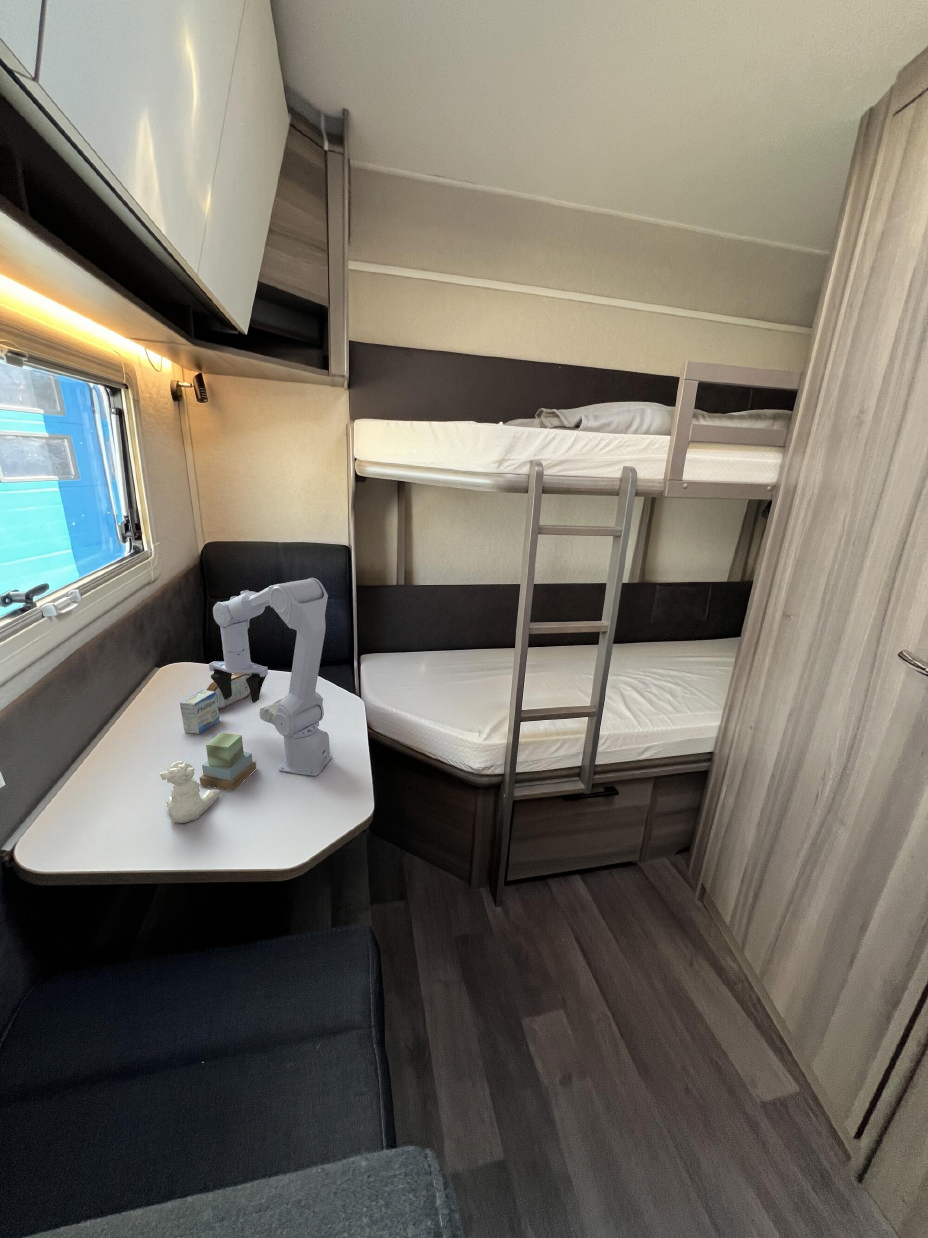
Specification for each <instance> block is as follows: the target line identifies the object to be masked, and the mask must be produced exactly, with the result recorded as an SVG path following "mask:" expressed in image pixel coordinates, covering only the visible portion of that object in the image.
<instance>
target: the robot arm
mask: <svg viewBox="0 0 928 1238" xmlns="http://www.w3.org/2000/svg"><path fill="white" fill-rule="evenodd" d="M328 597H329V594H328V593H327V591H326V589H325V587H324V586H323V584H322V582H321V581H320V580H319V579H317V578H314V577H309V578H306V579H302V580H301V579H300V580H295V581H289V582H288V581H287V582H284V583H283V582H282V583H277V584H273V585H269V586H268V587H266V588H264V589H263V590H261V591H259V592H256V591H250V590H249V589H246V590H242V591H240V595H238V596H237V595H235V596H234V595H233V596H231V597H230V598H229V600H226V601H222V602H221V601H217V602H216V603H214V606H213V608H212V613H213V614H212V615H213V619H214V621H215V623H216V624H217V625H218V626H219V627H220V635H221V642H222V643H221V644H222V651H223V660H224V661H218V660H217V661H216V660H215V661H212V662H210V663H208V668H209V672H213V673H212V674H210V679H211V680H212V682H215V683H216V684H217V686H218V687H219V689H220V691H221V693H222V695H223V697H224V699H226V700H227V699H228V698H230V697H231V696H232V687H231V677H232V674H234V673H243V674H251V676H250V677H248V678H247V679H246V682H247V684H248V686H249V689H250V695H249V696H250V700H251V703H252V704H253V703H254V704H255V703H257V702H258V701H259V700H260V697H261V692H262V687H263V685H264V682H265V680H266V677H267V675H268V674H269V670H268V666H263V665H261V664H257V663H254V662H252V660H251V653H250V644H249V643H250V642H249V635H248V633H249V632H248V629H249V628H250V620H251V619H253V618H255V617H257V616H260V615H261V614H263V613H264V611H265V609H266V607H269V606H270V608H272V609H273V610H274V611H275V612H276V613H277V615H278V616H279V617H280V619H281V620H282V621H283V622H284V623H285V624H286V626H287V627H288V628H289V629H292V630H295V631H296V637H295V645H294V652H293V659H292V667H291V668H292V669H291V673H290V674H291V675H290V680H289V681H290V683H289V688H288V693H287V694H286V695H285V696H284V697H283V698H282V699H283V700H282V701H281V702H280V703H279V705H278V710H277V711H276V712H275V714H274V724H273V726H274V728H275V730H276V731H277V732H278V733H279V734H280V735H282V736H283V741H284V742H283V743H284V752H285V753H284V755H285V756H284V757H285V761H284V762H283V763H282V764H281V765H280V766H279V767H278V771H279V772H285V773H290V774H291V773H292V774H298V775H299V774H300V775H306V776H311V777H313V776H314V777H316V776H318V775H319V773H321V771H322V770H323V769H324V768H325V766H326V765H327V764H328V762H330V761H331V759H332V755H331V750H330V749H331V748H330V736H329V733H328V732H327V731H325V730H322V729H319V728H318V727H320V721H322V720H323V718H324V717H325V716H324V714H325V713H324V711H325V710H324V706H323V704H324V698H323V697H322V695H321V694H320V693H318V692H317V691H316V688H317V684H318V677H319V672H320V671H319V670H320V664H321V659H322V653H323V646H324V641H325V634H326V628H327V627H326V611H327V610H326V609H327V605H328V604H327V603H328Z"/></svg>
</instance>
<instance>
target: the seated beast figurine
mask: <svg viewBox="0 0 928 1238" xmlns="http://www.w3.org/2000/svg"><path fill="white" fill-rule="evenodd" d="M195 770H196V769H195V768H193V765H191V763H187V762H186V761H185V760H177V761H175V762H174V761H173V762H172V763H171V764H170V765H169V766H168V767H167V769H166V770H165V771H161V772H159V776H160V778H161V780H163V781H166V780H167V781H166V783H170V784H172V785H173V786H172V790H171V795H169V796H168V799H167V800H166V806H167V809H168V813H169V817H170V818H172V819H171V820H172V821H173V822H175V823H178V824H184V823H190V822H193V821H195V820H197V819H198V818H199V817H200V816H201V815H202V814H203V813H205V812H206V811H207V809H209V807H210V806H212V805H213V803H214V802H215V801H217V799H218V798H219V796H220V795H221V791H220V790H219V789H208V790H206V792H204V793H203V794H202V796H201V794H200V792H201V789H200V786H201V785H200V782H197V780H196V779H195V778H194V775H195V772H194V771H195Z"/></svg>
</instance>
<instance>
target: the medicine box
mask: <svg viewBox="0 0 928 1238" xmlns="http://www.w3.org/2000/svg"><path fill="white" fill-rule="evenodd" d="M179 705H180V712H181V719H182V724H183V731H184V733H190V734H197V735H199V734H202V733H203V732H204V731H205V730H207V729H208V728H210V727H211V726H213V725H214V724H215V723H217V722H218V721H220V714H219V709H218V705H217V697H216V692H214V691H207V689H205V690H201V691H199V692H197V693H195V694H193V695H192V696H190V697H188V698H186V699H184V700H182V701H181V702H179Z"/></svg>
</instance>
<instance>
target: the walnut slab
mask: <svg viewBox="0 0 928 1238" xmlns="http://www.w3.org/2000/svg"><path fill="white" fill-rule="evenodd" d="M256 768H257V761H254V760H253V763H252V764H251V765H249V766H248V767H247V768H246V769H245V770H244V771H242V772H241V773H240V774H239V775H238V776H236V777H235V778H234V779H233V780H232V781H229V780H224V779H220V778H215V777H210V776H205V775H203V774H201V775H200V776H199V784H200V786H201V785H202V786H203V787H208V786H210V787H209V788H214V787H216V789H221V788H222V789H223V790H227V789H228V791H236V790H237V788H238V787H240V784H241V783H242V782H243V781H244V780H245V779H246V778H247V777H248V776H249V775H250V774H251V773H252V772H253V771H254V770H255V769H256ZM256 770H257V769H256ZM256 770H255V771H256ZM255 771H254V772H255ZM254 772H253V773H254ZM253 773H252V774H253ZM252 774H251V775H252ZM251 775H250V776H251ZM250 776H249V777H250ZM249 777H248V778H249ZM248 778H247V779H248ZM247 779H246V780H247ZM246 780H245V781H246ZM243 783H244V782H243ZM241 785H242V784H241Z"/></svg>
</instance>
